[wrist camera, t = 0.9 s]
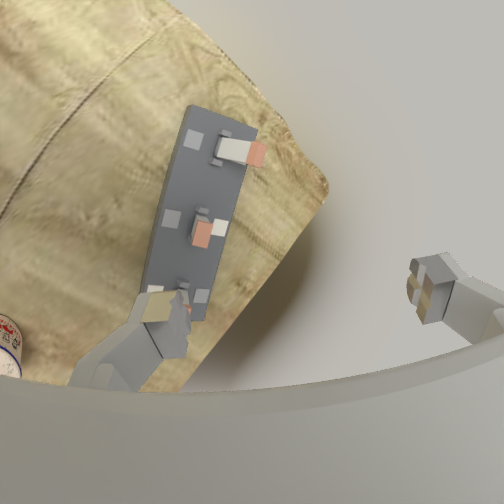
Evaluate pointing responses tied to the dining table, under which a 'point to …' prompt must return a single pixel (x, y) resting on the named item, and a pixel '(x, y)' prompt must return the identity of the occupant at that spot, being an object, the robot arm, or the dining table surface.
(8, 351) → the teacup with lid
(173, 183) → the switch panel
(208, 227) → the middle lever
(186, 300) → the lever
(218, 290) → the dining table surface
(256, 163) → the lever
